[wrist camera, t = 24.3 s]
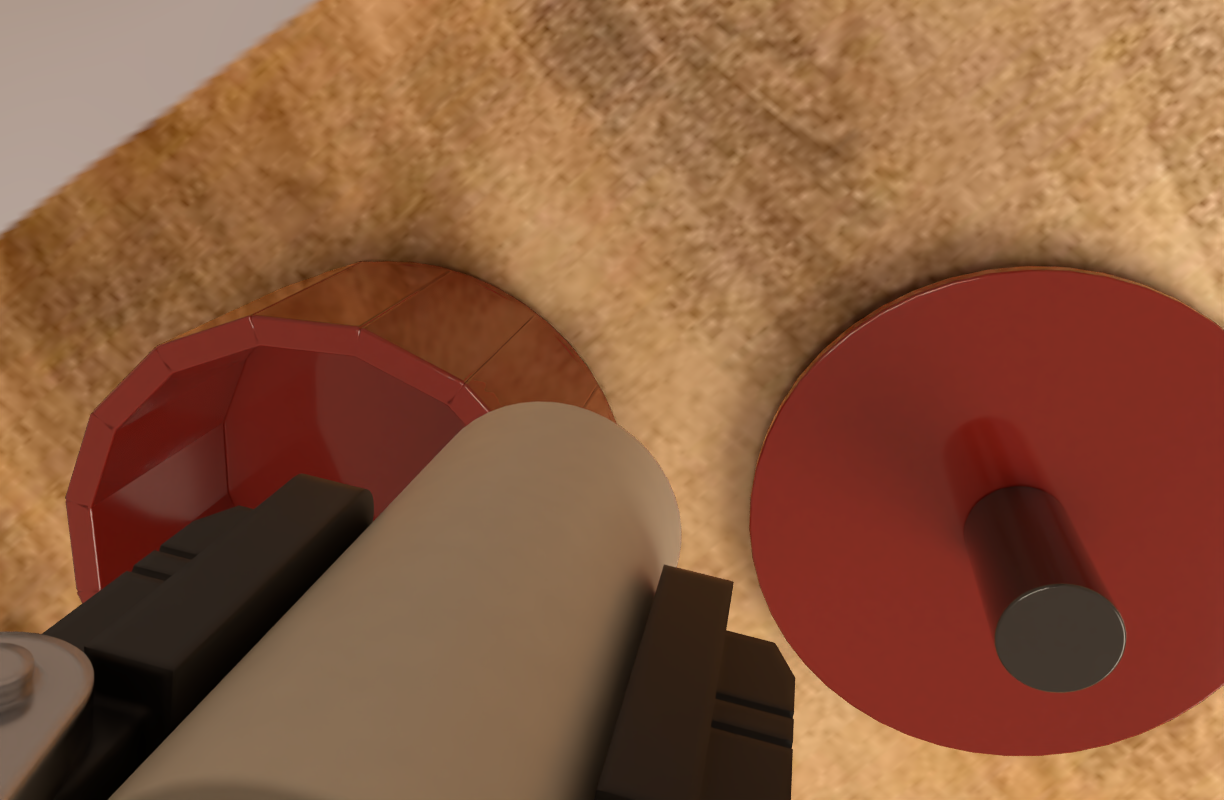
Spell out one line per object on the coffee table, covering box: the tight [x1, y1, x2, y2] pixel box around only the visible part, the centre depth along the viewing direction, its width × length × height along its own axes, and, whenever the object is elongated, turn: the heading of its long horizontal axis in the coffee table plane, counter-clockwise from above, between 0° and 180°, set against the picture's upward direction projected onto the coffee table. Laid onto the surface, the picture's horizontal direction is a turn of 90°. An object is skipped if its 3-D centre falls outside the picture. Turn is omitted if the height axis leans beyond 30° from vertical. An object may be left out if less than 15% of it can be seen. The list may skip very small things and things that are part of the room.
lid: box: [749, 266, 1224, 756], centre depth 29 cm, size 16×16×7 cm
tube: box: [108, 402, 681, 800], centre depth 10 cm, size 3×3×7 cm
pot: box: [65, 261, 616, 603], centre depth 32 cm, size 15×15×8 cm
